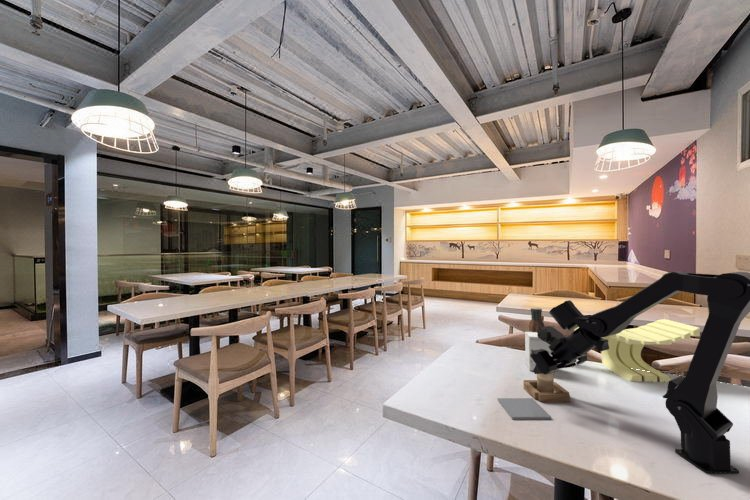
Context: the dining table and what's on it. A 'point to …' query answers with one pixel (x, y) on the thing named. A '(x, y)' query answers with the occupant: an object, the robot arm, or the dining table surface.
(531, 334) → the supplement box
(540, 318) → the sauce bottle
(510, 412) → the slate pad
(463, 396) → the dining table surface
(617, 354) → the slatted curved stool
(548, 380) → the oak peg
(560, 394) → the walnut frame
